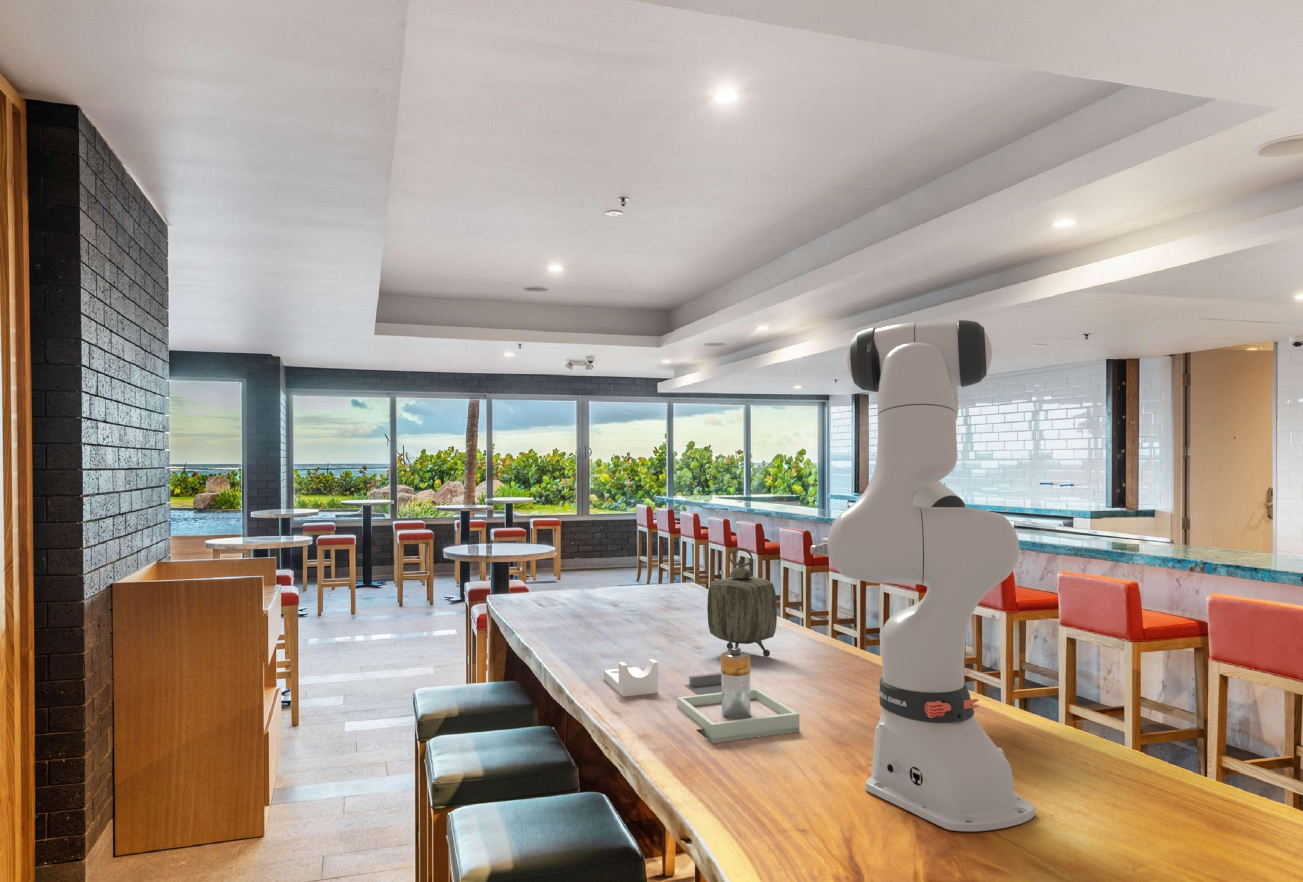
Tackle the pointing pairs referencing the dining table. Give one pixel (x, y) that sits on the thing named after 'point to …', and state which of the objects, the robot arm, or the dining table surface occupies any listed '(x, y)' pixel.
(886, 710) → the robot arm
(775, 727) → the tray
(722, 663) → the battery cell
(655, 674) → the bracket
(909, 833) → the dining table surface
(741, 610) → the tabletop clock
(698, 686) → the block
